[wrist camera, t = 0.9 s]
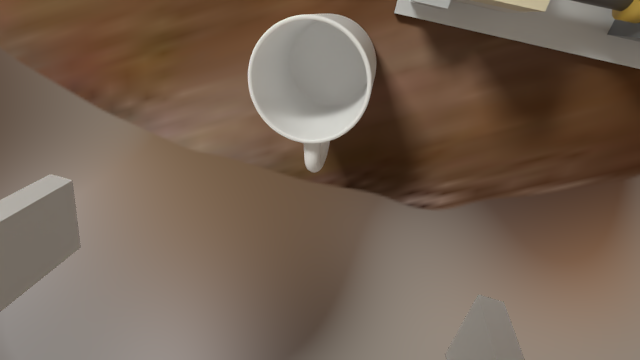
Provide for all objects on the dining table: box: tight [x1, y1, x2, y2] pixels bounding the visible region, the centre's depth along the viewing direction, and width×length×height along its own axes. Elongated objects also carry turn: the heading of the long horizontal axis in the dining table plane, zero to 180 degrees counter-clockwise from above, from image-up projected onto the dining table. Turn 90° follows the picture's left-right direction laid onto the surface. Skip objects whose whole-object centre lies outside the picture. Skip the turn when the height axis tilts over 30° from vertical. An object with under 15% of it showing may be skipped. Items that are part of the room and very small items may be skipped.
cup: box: [248, 14, 376, 172], centre depth 30 cm, size 8×12×10 cm
